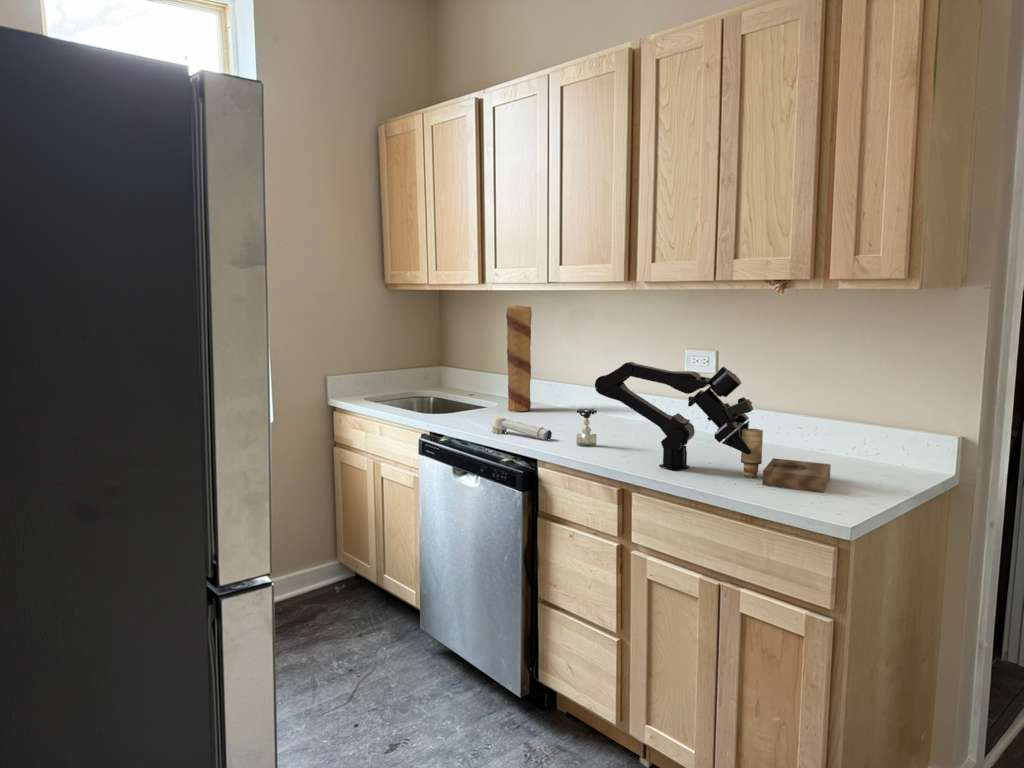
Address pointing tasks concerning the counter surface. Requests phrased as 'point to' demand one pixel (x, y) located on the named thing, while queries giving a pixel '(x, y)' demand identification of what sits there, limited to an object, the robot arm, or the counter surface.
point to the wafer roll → (519, 357)
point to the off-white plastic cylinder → (520, 428)
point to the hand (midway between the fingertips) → (753, 450)
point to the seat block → (797, 475)
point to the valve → (586, 429)
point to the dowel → (752, 451)
